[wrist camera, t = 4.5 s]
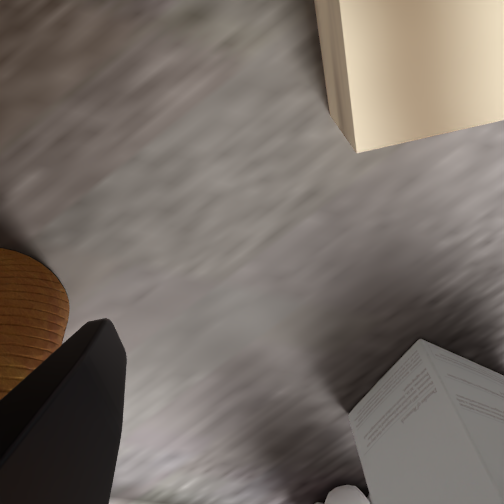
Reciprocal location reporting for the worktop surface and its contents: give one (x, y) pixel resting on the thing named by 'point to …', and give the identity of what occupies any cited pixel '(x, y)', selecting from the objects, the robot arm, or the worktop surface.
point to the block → (411, 67)
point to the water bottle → (346, 496)
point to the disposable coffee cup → (28, 316)
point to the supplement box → (432, 431)
